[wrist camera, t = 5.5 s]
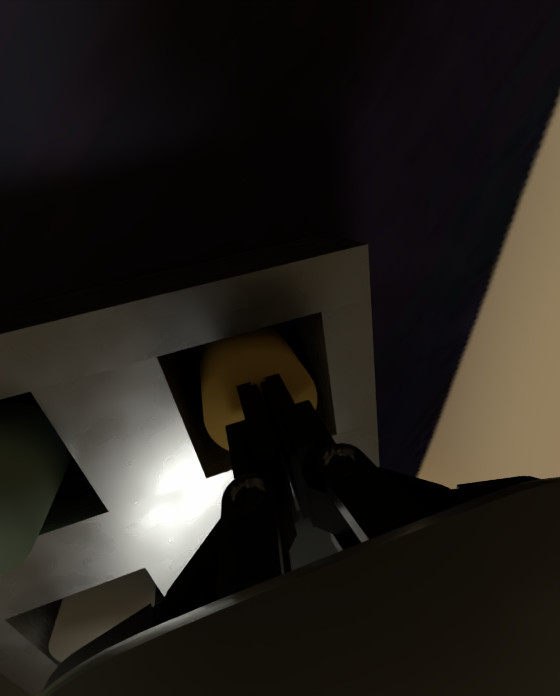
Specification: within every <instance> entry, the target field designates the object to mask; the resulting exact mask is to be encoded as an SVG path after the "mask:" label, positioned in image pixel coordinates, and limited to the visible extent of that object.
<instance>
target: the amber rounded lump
mask: <svg viewBox="0 0 560 696" xmlns="http://www.w3.org/2000/svg"><path fill="white" fill-rule="evenodd" d="M199 370H200V382H201V393H202V405H203V417H204V423H205V427H206V429H207V431H208V433H209V435H210V436H211V438H212V439H213V440H214V441H215V442H216V443H217V444H218V445H220V446H221V447H222V448H224V449H226V450H228V451H229V446H228V440H227V435H226V428H225V426H226V425H229V424H233V423H236V422H239V421H242V420H245V418H244V414H243V410H242V406H241V403H240V399H239V395H238V391H237V388H236V386H238V385H241V384H245V383H248V382H250V383H251V385H255V384H257V387H258V389H259V392H260V394H261V397H262V400H263V402H264V405H265V408H266V410H267V407H266V403H265V399H264V395H263V391H262V387H261V382H265V377H268V376H272V375H275V374H278V373H279V375H280V376H281V378H282V380H283V382H284V384H285V386H286V388H287V390H288V391H289V393H290V395H291V397H292V399H293V401H294V403H295V404H296V403H299V402H302V401H306V400H309V401H310V402H311V404H312V405H313V407H314V408H315V410H316V406H317V391H316V387H315V384H314V382H313V380H312V378H311V377H310V375H309V374H308V372H307V371H306V370H305V368H304V367H303V365H302V364H301V362H300V361H299V360H298V358H297V357H296V355H295V354H294V352H293V351H292V350H291V348H290V347H289V345H288V344H287V343H286V341H285V340H284V338H283V337H282V336H281V334H280V333H279V332H278V331H277V330H276V329H274V328H273V327H271V326H267V327H264V328H260V329H256V330H253V331H249V332H245V333H242V334H238V335H234V336H231V337H227V338H223V339H220V340H216V341H213V342H209V343H205V344H204V346H203V348H202V351H201V354H200V359H199ZM267 413H268V411H267Z"/></svg>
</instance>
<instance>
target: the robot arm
mask: <svg viewBox="0 0 560 696" xmlns="http://www.w3.org/2000/svg"><path fill="white" fill-rule="evenodd" d="M261 387H262V391H263V395H264V399H265V403H266V407H267V410H266V408H265V405H264V402H263V400H262V397H261V394H260V392H259V389H258V387H257V384H255V385H251V383H250V382H248V383H245V384H241V385H238V386H236V388H237V391H238V395H239V399H240V403H241V406H242V410H243V414H244V418H245V420H242V421H239V422H236V423H233V424H229V425H226V426H225V428H226V435H227V440H228V446H229V452H230V458H231V464H232V470H233V475H234V480H233V481H232V482H231V483H230V484H229V485H228V486H227V487H226V489H225V491H224V492H223V496H222V503H221V518H220V519H219V521H218V522H217V523H216V525H215V526H214V527H213V529H212V530H211V532H210V533H209V534H208V536H207V537H206V538H205V540H204V541H203V543H202V544H201V545H200V547H199V548H198V549H197V551H196V552H195V554H194V555H193V556H192V558H191V559H190V560H189V562H188V563H187V565H186V566H185V567H184V569H183V570H182V571H181V573H180V574H179V576H178V577H177V578H176V580H175V581H174V582H173V584H172V585H171V587H170V588H169V590H168V591H167V593H166V595H165V597H164V599H163V601H161V602H160V603H158V604H157V605H155V606H152V604H151V603H150V604H149V605H147V606H145V607H144V608H142V609H141V610H139V611H138V612H136V613H135V614H133V615H131V616H130V617H128V618H127V619H125V620H124V621H122V622H121V623H119V624H117V625H116V626H114V627H113V628H111V629H110V630H108V631H106V632H105V633H103V634H102V635H100V636H99V637H97V638H96V639H94V640H92V641H91V642H89V643H88V644H86V645H85V646H83V647H82V648H80V649H78V650H77V651H75V652H74V653H72V654H71V655H70V656H68V657H67V658H66V659H65V660H64V661H62V662H61V663H60V664H59V666H58V667H57V668H56V669H55V671H54V672H53V673H52V674H51V676H50V677H49V679H48V681H47V683H46V685H45V687H44V689H43V691H42V692H40V693H39V694H38V695H37V696H560V477H556V478H547V479H539V478H535V477H531V476H518V477H511V478H503V479H496V480H488V481H481V482H474V483H467V484H459V485H457V489H449V488H448V487H445V486H443V485H440V484H437V483H434V482H429V481H426V480H423V479H419V478H416V477H412V476H409V475H405V474H401V473H398V472H394V471H391V470H387V469H384V468H380V467H377V466H376V465H375V464H374V463H373V462H372V461H371V460H370V459H369V458H368V457H367V456H366V455H365V454H364V453H363V452H362V451H361V450H360V449H359V448H357V447H356V446H353V445H351V444H346V443H335V441H334V439H333V438H332V436H331V435H330V433H329V431H328V430H327V428H326V426H325V425H324V423H323V422H322V420H321V418H320V417H319V415H318V413H317V412H316V410H315V408H314V407H313V405H312V404H311V402H310V401H309V400H306V401H302V402H299V403H296V404H295V403H294V401H293V399H292V397H291V395H290V393H289V391H288V390H287V388H286V386H285V384H284V382H283V380H282V378H281V376H280V375H279V373H278V374H275V375H272V376H268V377H265V382H261ZM267 411H268V413H267ZM290 483H291V485H290ZM291 486H292V489H293V491H294V494H295V497H296V500H297V502H298V505H299V508H300V511H301V513H302V516H303V518H304V519H307V518H309V517H310V520H311V522H312V525H313V527H317V528H319V529H322V530H324V531H327V532H329V536H330V538H331V540H332V542H333V544H334V545H335V547H336V549H337V550H338V552H337V553H334V554H332V555H329V556H327V557H324V558H322V559H319V560H317V561H314V562H312V563H309V564H307V565H304V566H302V567H299V568H297V569H294V570H293V566H292V559H291V554H290V548H291V546H292V544H293V542H294V540H295V538H296V536H297V532H296V528H295V524H294V523H296V522H299V519H298V514H297V510H296V506H295V502H294V498H293V493H292V489H291Z"/></svg>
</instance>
